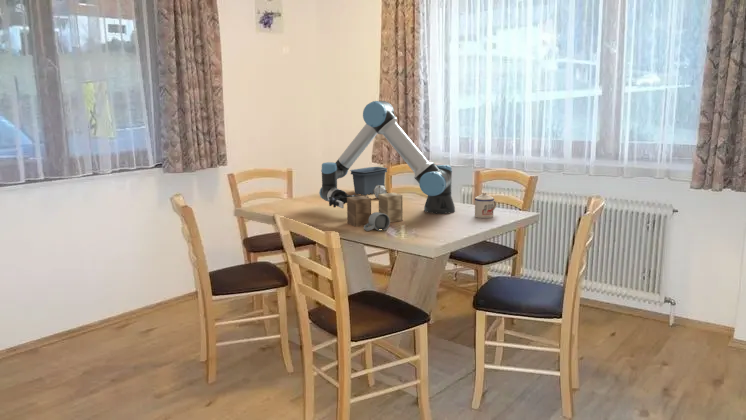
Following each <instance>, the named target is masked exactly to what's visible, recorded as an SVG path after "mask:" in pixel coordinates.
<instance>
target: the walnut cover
mask: <svg viewBox="0 0 746 420" xmlns="http://www.w3.org/2000/svg"><path fill="white" fill-rule="evenodd" d="M365 196H366V195H358V196H355V197H347V203H346V209H347V210H346V211H347V212H346V213H347V215H346V216H347V224H348V225H350V226H354V227H362V226H361V225H363V226H365V225H366V224H367V223H369V221H368V220H369V216H370V215H371V214H372V198H371V197H369V196H368V197H369V198H368V197H365Z"/></svg>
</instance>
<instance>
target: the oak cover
mask: <svg viewBox="0 0 746 420" xmlns="http://www.w3.org/2000/svg"><path fill="white" fill-rule="evenodd" d="M378 212H379V213H384V214H386V215H388V217H389V219H390V223H395V222H402V221H403V217H404V216H403V213H404V212H403V194H399V193H396V192H388V193H386V194H379V198H378Z"/></svg>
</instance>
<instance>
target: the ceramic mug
mask: <svg viewBox="0 0 746 420" xmlns="http://www.w3.org/2000/svg"><path fill="white" fill-rule="evenodd" d="M368 221H369V223H367V224H366V225H363V230H364V231H365V230H366V231H365V232H369V231H371V230H373V229H374V230H376V231H378V232H382V231H381V230H379V229H382V230H384V231H386V230H387V229H389V227H390V224H391V222H390V219H389V217H388V215H386V214H384V213H379V211H375V212H371V215H370V216H369V220H368Z"/></svg>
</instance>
